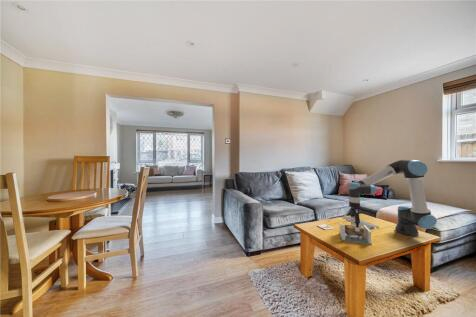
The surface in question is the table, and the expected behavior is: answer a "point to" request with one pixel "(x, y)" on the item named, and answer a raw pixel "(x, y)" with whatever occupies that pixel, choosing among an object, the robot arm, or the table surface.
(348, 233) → the shelf block
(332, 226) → the table surface
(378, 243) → the table surface
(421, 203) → the robot arm
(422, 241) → the table surface
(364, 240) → the peg frame
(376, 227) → the crown molding
